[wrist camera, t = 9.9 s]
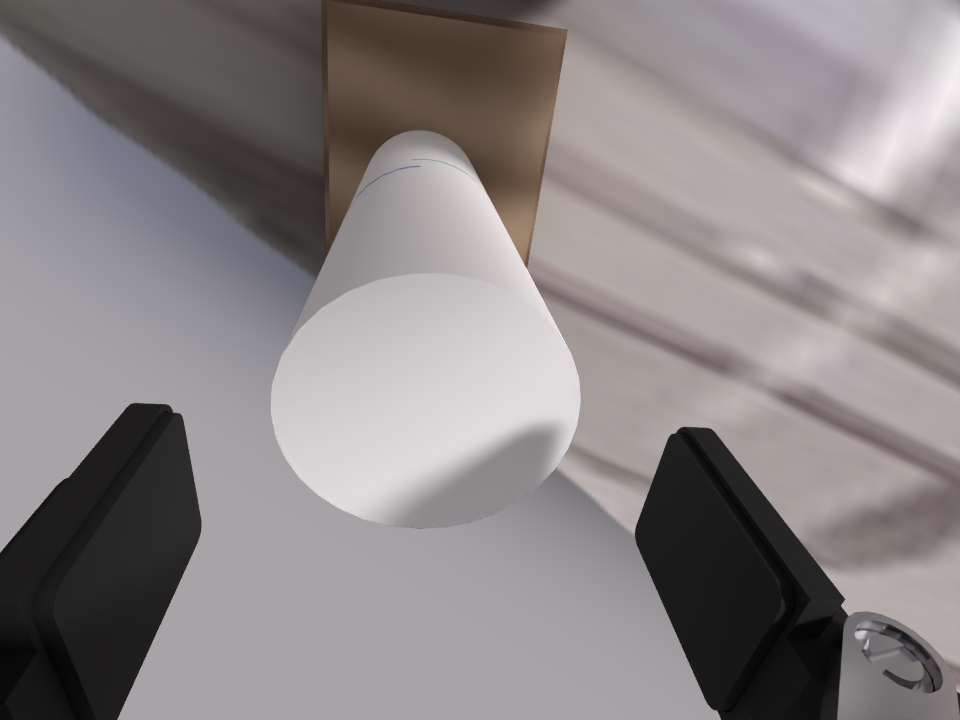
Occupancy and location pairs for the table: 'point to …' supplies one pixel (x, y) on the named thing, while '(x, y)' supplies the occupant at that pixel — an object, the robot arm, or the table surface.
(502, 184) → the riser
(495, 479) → the cylindrical container
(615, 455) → the table surface
